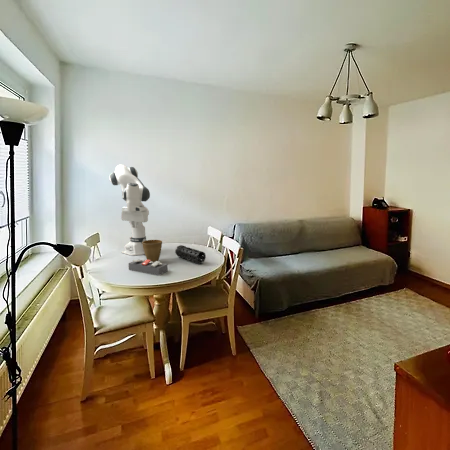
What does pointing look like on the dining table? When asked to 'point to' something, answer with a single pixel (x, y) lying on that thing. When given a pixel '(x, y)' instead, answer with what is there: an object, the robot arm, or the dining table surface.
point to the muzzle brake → (190, 254)
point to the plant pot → (152, 249)
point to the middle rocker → (146, 262)
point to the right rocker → (155, 264)
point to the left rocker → (137, 261)
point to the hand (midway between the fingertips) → (134, 227)
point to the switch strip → (148, 267)
